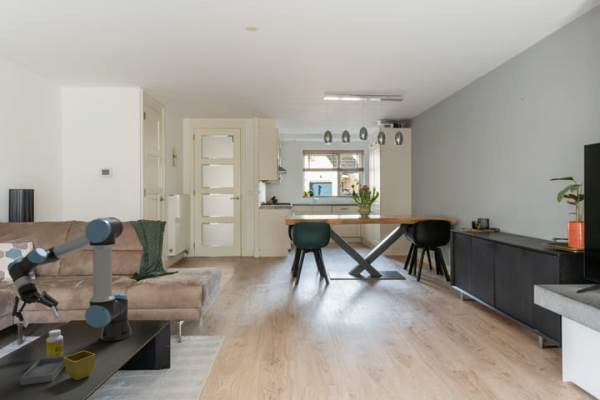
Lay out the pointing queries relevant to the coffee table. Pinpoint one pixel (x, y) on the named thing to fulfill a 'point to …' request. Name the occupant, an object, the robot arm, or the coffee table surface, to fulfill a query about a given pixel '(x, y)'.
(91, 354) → the flower pot
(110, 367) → the coffee table surface
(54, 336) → the supplement bottle
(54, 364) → the tray
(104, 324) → the robot arm
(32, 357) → the coffee table surface
